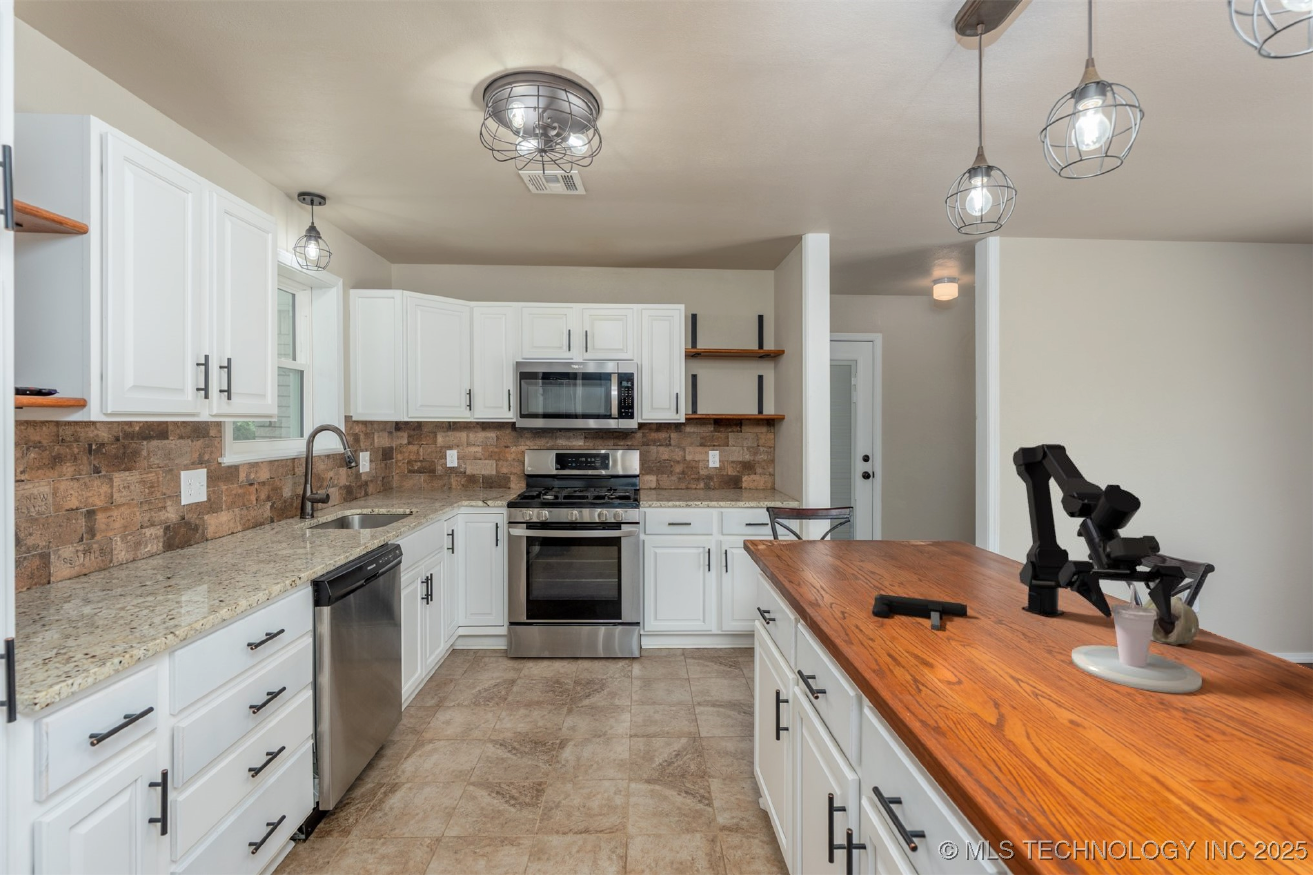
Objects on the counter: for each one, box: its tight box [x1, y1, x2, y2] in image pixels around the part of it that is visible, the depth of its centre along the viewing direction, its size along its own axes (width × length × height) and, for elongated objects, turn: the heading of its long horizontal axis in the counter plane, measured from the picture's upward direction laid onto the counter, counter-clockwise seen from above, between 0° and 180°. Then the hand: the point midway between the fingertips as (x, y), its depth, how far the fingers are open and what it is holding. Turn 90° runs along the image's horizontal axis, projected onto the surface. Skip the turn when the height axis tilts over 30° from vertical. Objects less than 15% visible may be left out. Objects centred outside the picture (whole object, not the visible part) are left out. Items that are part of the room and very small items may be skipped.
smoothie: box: [1110, 584, 1157, 667], centre depth 106 cm, size 6×6×14 cm
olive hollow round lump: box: [1142, 596, 1200, 646], centre depth 121 cm, size 9×8×10 cm
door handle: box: [871, 593, 968, 631], centre depth 135 cm, size 3×20×16 cm
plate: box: [1071, 644, 1203, 694], centre depth 106 cm, size 18×18×1 cm
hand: (1139, 618), depth 104 cm, fingers open, 9 cm apart
